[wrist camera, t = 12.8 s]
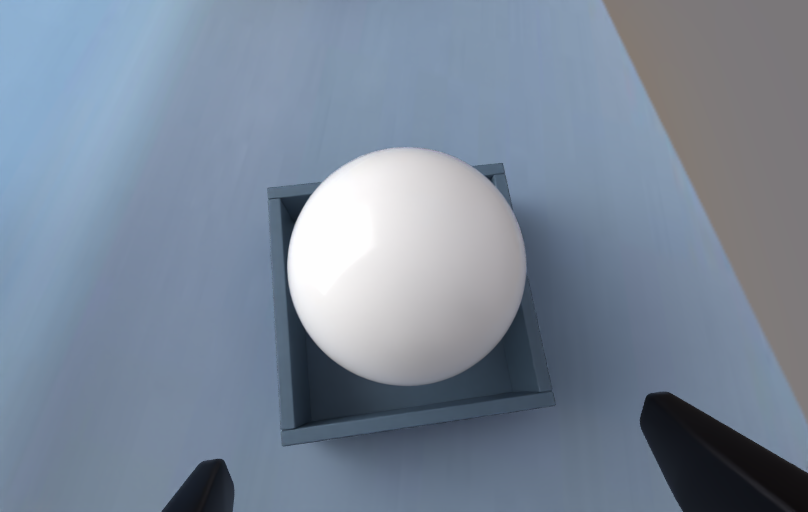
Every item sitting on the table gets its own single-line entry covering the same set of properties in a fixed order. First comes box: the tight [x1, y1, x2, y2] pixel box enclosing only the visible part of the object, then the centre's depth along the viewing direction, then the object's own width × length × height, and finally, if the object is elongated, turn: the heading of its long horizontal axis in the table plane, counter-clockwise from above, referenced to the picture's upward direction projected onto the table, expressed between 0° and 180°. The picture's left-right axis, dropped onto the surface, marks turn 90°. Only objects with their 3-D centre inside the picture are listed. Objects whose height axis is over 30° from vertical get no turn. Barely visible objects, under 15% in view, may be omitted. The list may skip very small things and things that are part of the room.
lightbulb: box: [287, 147, 527, 386], centre depth 14 cm, size 6×6×11 cm
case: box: [267, 163, 556, 447], centre depth 18 cm, size 10×10×4 cm
